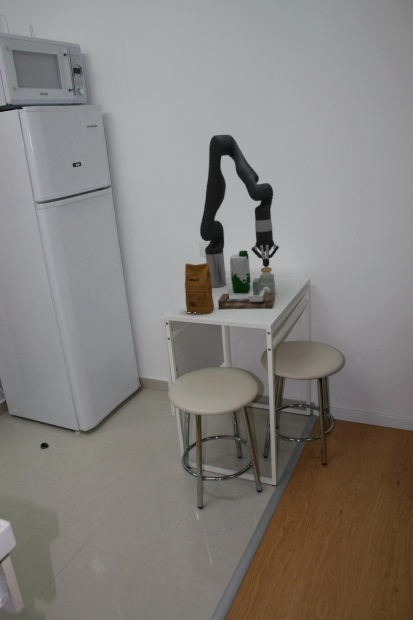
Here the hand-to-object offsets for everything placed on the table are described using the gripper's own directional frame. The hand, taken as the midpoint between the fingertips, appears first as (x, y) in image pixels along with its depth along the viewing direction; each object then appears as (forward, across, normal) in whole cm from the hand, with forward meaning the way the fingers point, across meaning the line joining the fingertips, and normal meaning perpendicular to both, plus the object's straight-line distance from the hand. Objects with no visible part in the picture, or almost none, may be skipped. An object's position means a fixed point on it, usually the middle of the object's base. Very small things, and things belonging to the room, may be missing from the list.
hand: (266, 266), depth 230 cm
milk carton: (+14, -14, +9) cm, 22 cm away
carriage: (+11, -3, -12) cm, 17 cm away
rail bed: (+14, -8, -12) cm, 20 cm away
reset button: (+5, 0, 0) cm, 5 cm away
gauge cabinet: (+14, 0, 0) cm, 14 cm away
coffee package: (+14, -28, -19) cm, 37 cm away
